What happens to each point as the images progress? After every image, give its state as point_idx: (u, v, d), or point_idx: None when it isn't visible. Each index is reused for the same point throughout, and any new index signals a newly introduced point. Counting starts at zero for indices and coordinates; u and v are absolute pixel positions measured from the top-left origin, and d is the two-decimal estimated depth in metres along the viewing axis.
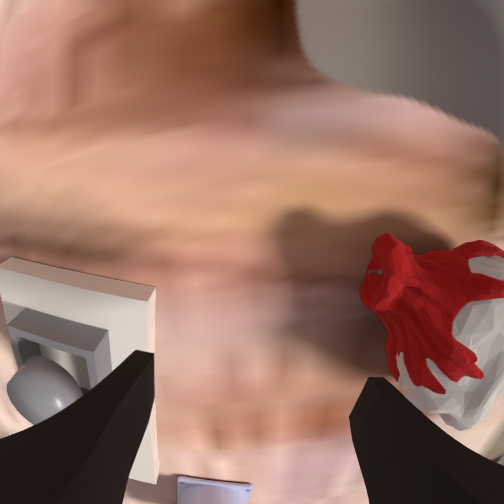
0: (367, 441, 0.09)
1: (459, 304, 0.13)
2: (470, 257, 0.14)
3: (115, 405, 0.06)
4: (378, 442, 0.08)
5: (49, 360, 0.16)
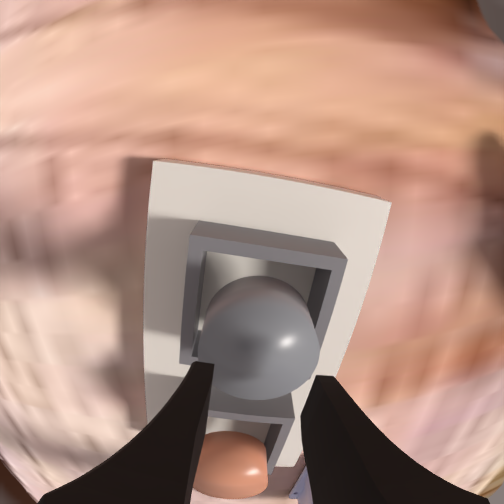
0: (312, 442, 0.08)
1: None
2: None
3: (195, 422, 0.06)
4: (321, 444, 0.08)
5: (276, 279, 0.13)
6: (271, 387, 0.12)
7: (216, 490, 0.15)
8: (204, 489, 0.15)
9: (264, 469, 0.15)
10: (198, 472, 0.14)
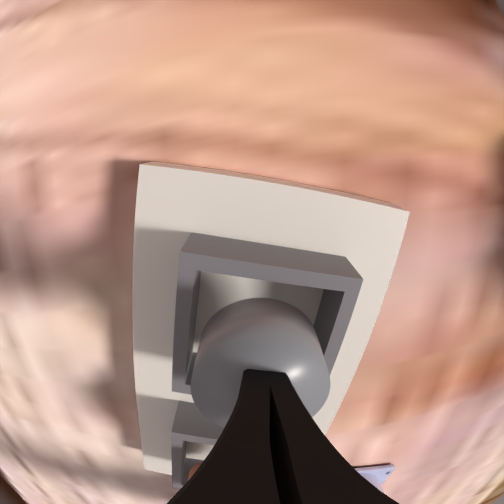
0: None
1: None
2: None
3: (266, 430, 0.07)
4: None
5: (280, 302, 0.11)
6: None
7: None
8: None
9: None
10: None
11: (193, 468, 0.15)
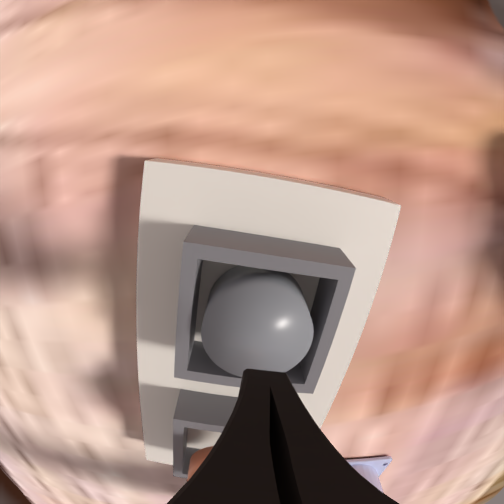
0: None
1: None
2: None
3: (266, 430, 0.07)
4: None
5: None
6: (269, 366, 0.13)
7: None
8: None
9: None
10: None
11: (194, 455, 0.15)
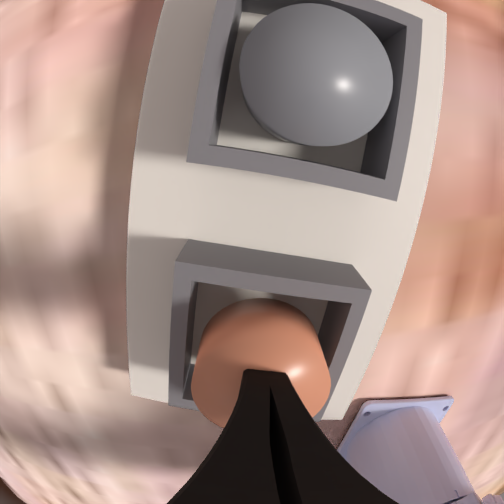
0: None
1: None
2: None
3: (266, 430, 0.06)
4: None
5: None
6: (338, 121, 0.08)
7: None
8: (218, 412, 0.10)
9: None
10: (210, 366, 0.09)
11: (208, 323, 0.12)
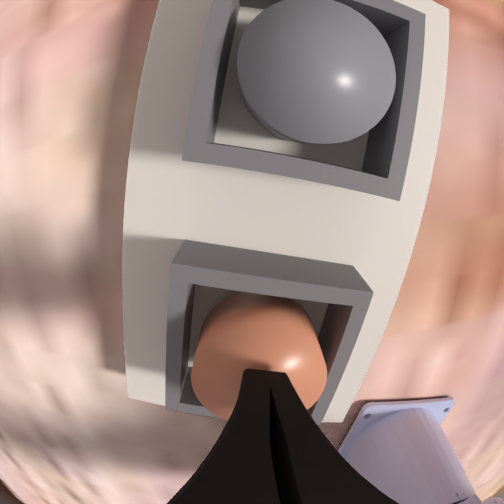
0: None
1: None
2: None
3: (266, 430, 0.06)
4: None
5: None
6: (339, 118, 0.08)
7: None
8: (217, 403, 0.10)
9: (321, 351, 0.10)
10: (209, 356, 0.10)
11: (208, 316, 0.12)
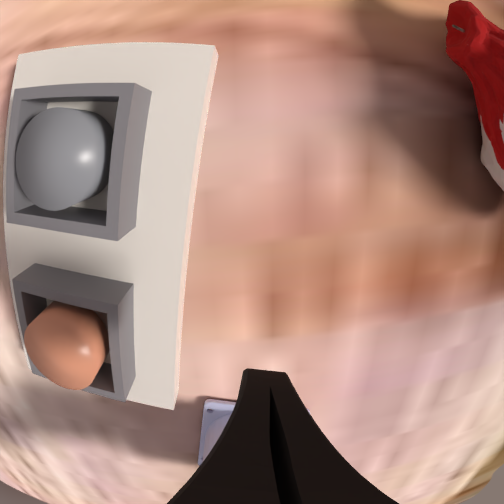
0: None
1: None
2: None
3: (266, 430, 0.07)
4: None
5: None
6: (63, 193, 0.12)
7: (53, 371, 0.14)
8: (42, 367, 0.14)
9: (88, 341, 0.14)
10: (29, 335, 0.14)
11: None
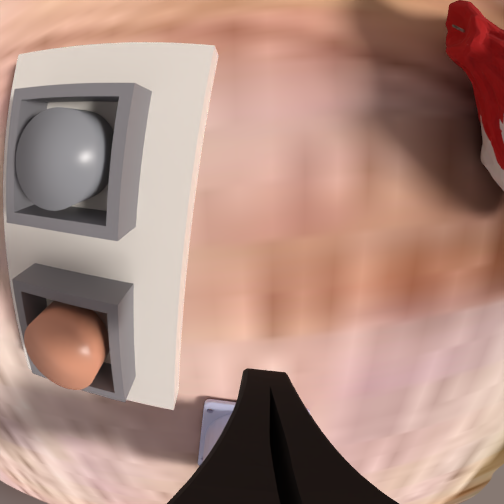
0: None
1: None
2: None
3: (266, 430, 0.07)
4: None
5: None
6: (63, 193, 0.12)
7: (53, 371, 0.14)
8: (42, 367, 0.14)
9: (88, 341, 0.14)
10: (29, 335, 0.14)
11: None
